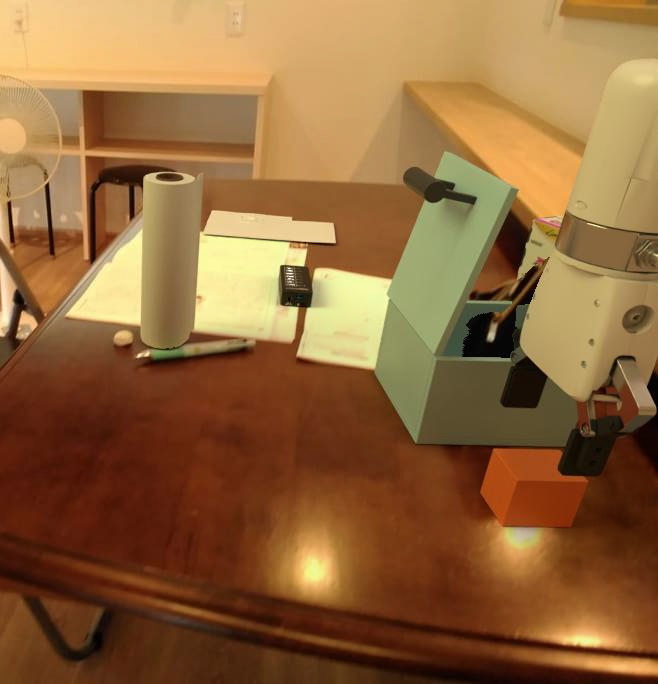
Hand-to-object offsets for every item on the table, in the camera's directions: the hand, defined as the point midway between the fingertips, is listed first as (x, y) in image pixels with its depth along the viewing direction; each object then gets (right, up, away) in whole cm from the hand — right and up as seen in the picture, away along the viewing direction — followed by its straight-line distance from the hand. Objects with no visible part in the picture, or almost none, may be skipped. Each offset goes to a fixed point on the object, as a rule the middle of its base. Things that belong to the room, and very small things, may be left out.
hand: (545, 437), depth 58 cm
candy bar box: (+18, +7, +31) cm, 37 cm away
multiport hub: (-11, +16, +47) cm, 51 cm away
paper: (-9, +30, +76) cm, 82 cm away
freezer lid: (-4, +17, +10) cm, 20 cm away
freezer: (+2, +1, +19) cm, 19 cm away
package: (0, -7, +4) cm, 8 cm away
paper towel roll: (-31, +8, +32) cm, 45 cm away
